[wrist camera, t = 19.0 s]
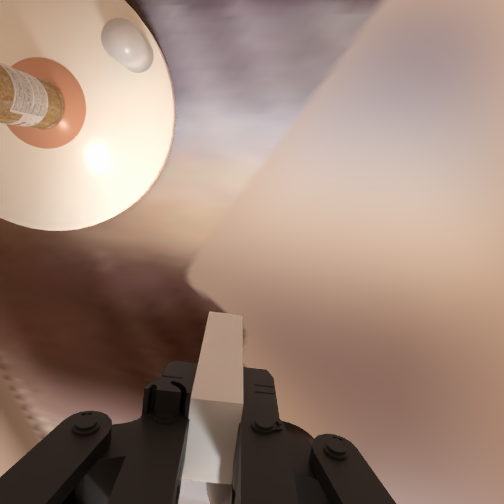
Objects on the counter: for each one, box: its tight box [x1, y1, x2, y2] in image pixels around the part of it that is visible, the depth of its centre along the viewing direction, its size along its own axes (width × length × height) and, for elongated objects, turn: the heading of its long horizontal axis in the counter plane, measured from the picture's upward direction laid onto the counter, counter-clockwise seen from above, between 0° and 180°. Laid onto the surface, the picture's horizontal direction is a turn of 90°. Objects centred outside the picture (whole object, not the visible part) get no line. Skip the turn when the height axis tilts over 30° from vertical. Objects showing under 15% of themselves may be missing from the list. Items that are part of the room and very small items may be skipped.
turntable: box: [0, 0, 176, 231], centre depth 35 cm, size 24×24×7 cm
